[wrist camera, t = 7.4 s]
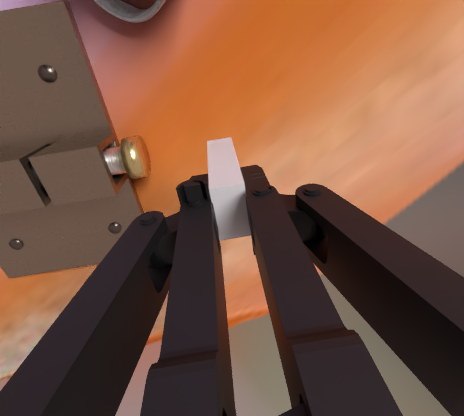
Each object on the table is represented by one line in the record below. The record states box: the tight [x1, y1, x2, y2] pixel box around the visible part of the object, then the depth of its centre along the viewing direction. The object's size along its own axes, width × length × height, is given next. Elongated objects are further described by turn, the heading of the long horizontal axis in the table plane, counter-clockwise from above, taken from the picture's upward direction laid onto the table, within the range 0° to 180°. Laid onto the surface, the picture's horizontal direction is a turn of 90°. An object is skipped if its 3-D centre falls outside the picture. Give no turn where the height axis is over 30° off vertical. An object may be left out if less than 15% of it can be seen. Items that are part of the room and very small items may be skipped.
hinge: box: [0, 1, 144, 278], centre depth 22 cm, size 16×22×4 cm
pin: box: [27, 136, 151, 187], centre depth 23 cm, size 17×3×3 cm, turn 98°
